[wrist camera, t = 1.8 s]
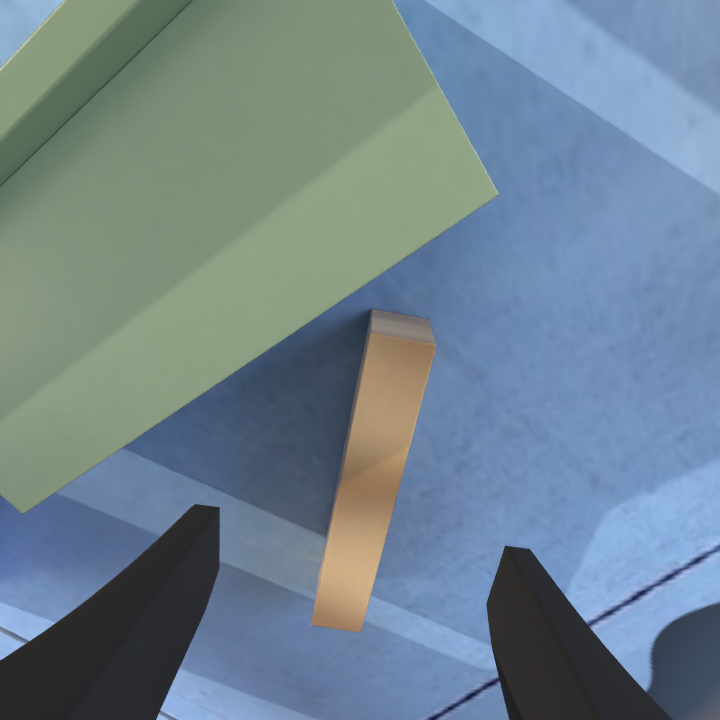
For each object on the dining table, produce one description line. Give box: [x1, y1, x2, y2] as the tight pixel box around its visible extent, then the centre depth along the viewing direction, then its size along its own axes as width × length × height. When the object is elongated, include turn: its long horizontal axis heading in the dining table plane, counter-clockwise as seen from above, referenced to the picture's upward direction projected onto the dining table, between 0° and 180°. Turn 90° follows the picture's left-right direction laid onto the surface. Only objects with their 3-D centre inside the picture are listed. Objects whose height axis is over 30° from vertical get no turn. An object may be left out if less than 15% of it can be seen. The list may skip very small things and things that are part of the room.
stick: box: [312, 309, 437, 633], centre depth 21 cm, size 15×2×3 cm, turn 170°
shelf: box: [0, 0, 499, 514], centre depth 15 cm, size 20×9×6 cm, turn 125°
